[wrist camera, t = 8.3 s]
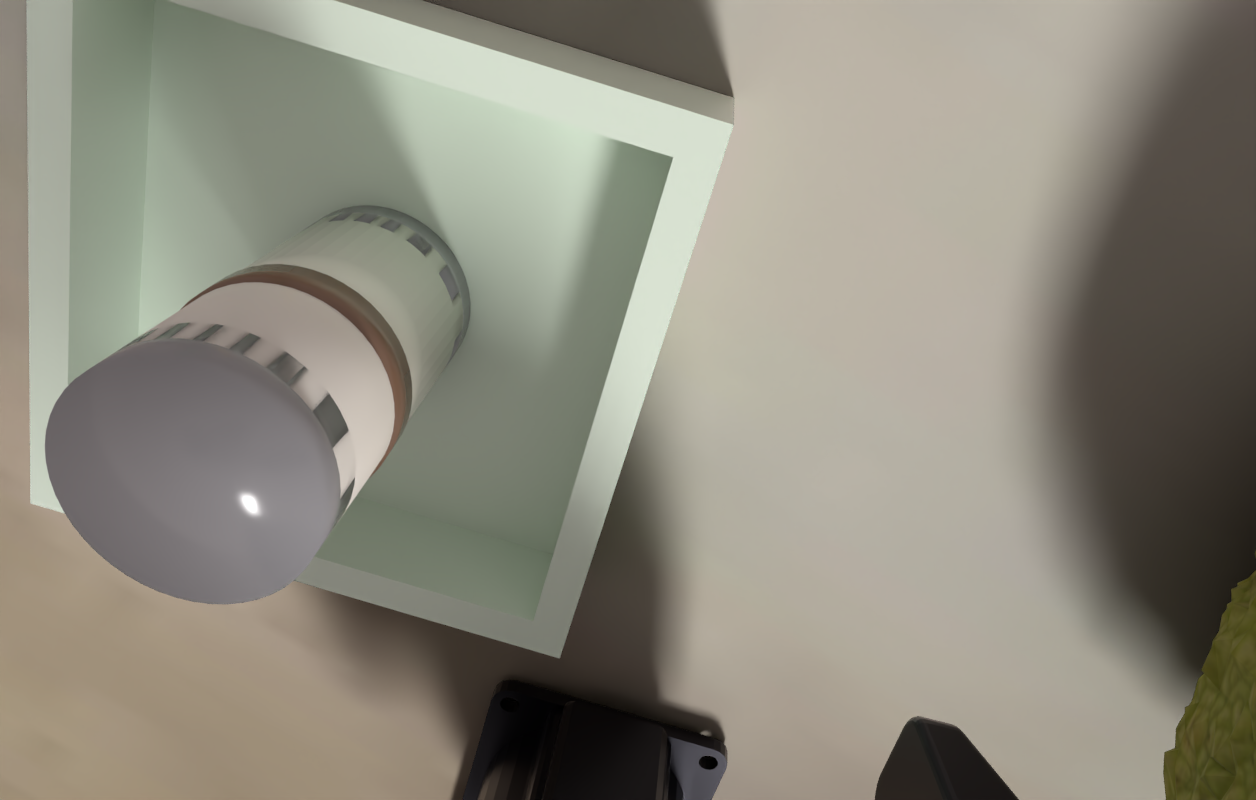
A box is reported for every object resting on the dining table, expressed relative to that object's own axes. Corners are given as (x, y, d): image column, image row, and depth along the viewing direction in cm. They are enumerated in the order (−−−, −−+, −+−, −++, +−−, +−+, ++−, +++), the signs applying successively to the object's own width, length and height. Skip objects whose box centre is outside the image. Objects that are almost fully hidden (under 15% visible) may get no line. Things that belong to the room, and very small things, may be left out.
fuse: (453, 406, 21) (308, 638, 14) (277, 353, 21) (40, 560, 14) (491, 236, 20) (347, 404, 12) (298, 178, 19) (40, 312, 12)
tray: (580, 575, 24) (559, 658, 21) (114, 437, 23) (30, 503, 21) (734, 97, 18) (733, 125, 16) (135, -90, 18) (25, -96, 15)
